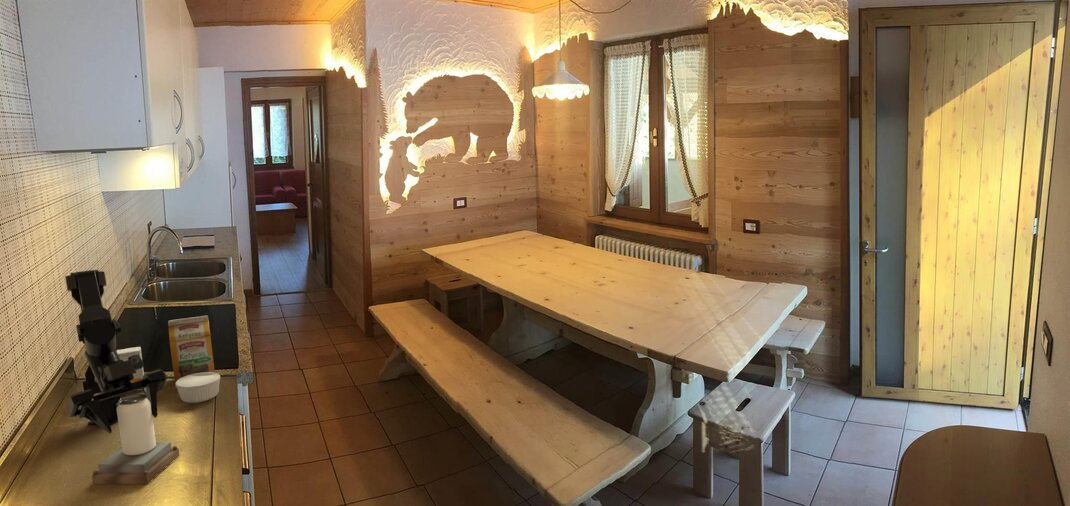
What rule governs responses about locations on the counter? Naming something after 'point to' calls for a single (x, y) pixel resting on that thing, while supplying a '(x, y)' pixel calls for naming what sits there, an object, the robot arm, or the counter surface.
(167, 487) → the counter surface
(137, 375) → the skincare box
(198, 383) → the ramekin
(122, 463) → the whetstone on wooden base
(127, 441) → the can
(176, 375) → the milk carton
